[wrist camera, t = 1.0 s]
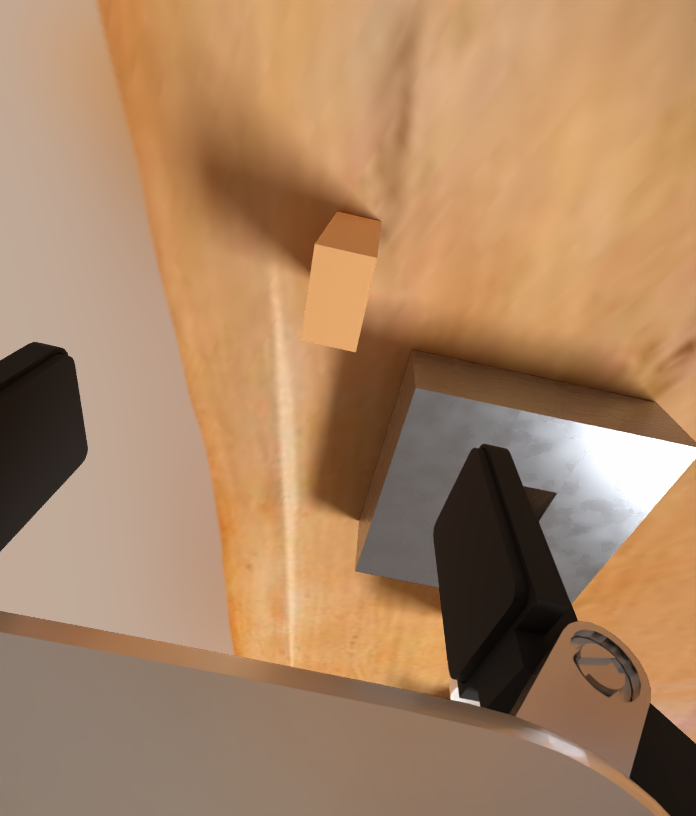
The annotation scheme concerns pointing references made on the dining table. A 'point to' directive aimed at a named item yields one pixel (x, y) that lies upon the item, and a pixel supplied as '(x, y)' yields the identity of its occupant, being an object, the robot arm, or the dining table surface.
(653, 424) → the collar
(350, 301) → the tall tan wooden block
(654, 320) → the dining table surface
